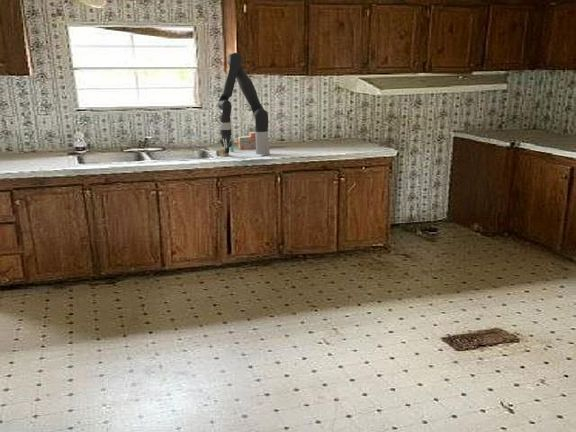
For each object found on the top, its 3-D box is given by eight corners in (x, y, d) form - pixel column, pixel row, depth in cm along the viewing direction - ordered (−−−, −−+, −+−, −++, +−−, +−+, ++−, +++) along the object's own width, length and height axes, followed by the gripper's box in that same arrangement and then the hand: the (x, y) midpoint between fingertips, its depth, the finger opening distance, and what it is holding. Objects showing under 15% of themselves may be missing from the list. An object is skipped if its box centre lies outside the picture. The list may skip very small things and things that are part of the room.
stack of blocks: (240, 149, 429) (239, 133, 426) (238, 148, 435) (237, 132, 432) (267, 147, 434) (266, 132, 431) (265, 146, 440) (264, 131, 437)
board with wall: (223, 155, 405) (223, 149, 403) (231, 157, 399) (231, 150, 398) (216, 157, 400) (215, 150, 398) (224, 158, 394) (223, 151, 393)
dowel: (232, 153, 415) (231, 141, 413) (234, 153, 414) (233, 141, 411) (230, 153, 414) (229, 141, 411) (232, 153, 412) (231, 141, 410)
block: (224, 154, 403) (223, 149, 402) (228, 155, 399) (228, 149, 398) (218, 155, 399) (218, 150, 398) (223, 156, 396) (223, 151, 395)
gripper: (236, 128, 389) (237, 153, 394) (223, 127, 398) (225, 151, 403) (228, 130, 384) (229, 154, 389) (215, 128, 392) (217, 152, 397)
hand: (227, 153), depth 396 cm, fingers closed
